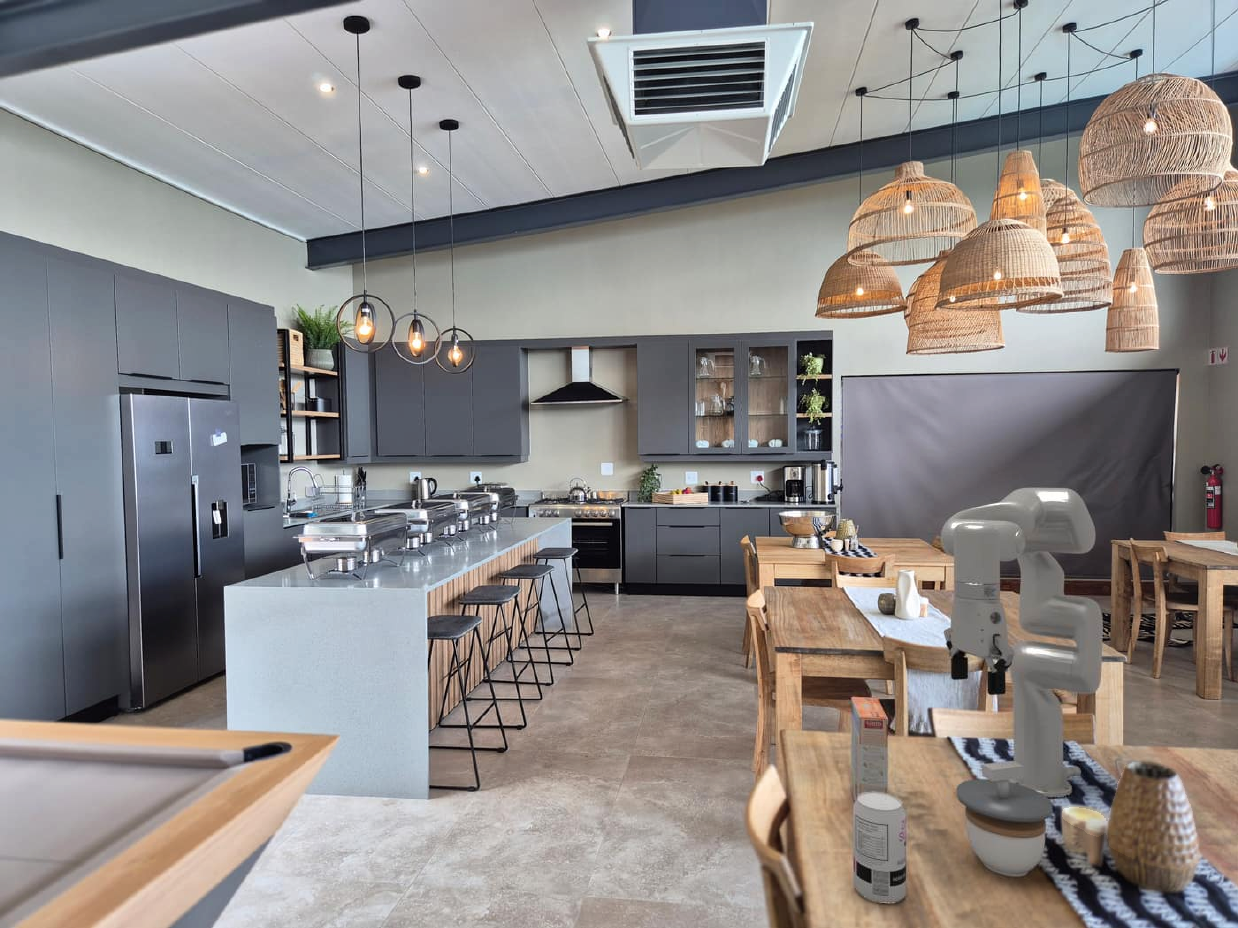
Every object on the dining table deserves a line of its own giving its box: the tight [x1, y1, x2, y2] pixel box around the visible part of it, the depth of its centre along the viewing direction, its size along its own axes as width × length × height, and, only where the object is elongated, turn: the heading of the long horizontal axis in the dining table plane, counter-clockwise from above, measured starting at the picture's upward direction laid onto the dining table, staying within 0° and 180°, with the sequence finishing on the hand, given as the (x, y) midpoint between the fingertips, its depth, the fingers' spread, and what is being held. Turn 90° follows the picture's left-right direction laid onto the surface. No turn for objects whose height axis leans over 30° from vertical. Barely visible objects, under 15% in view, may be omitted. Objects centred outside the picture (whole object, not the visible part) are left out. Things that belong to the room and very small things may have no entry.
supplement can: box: [852, 792, 907, 903], centre depth 123 cm, size 8×8×15 cm
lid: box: [956, 760, 1053, 822], centre depth 132 cm, size 15×15×6 cm
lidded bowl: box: [964, 806, 1047, 878], centre depth 131 cm, size 13×13×11 cm
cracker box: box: [850, 696, 889, 803], centre depth 154 cm, size 14×6×21 cm, turn 168°
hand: (977, 686), depth 135 cm, fingers open, 9 cm apart
